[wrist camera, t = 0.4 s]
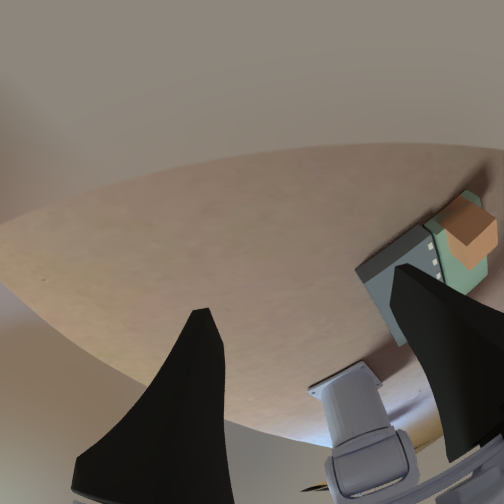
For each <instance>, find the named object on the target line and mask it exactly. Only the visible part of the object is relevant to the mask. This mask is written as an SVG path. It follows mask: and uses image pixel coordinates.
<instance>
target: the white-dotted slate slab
mask: <svg viewBox="0 0 504 504" xmlns="http://www.w3.org/2000/svg"><path fill="white" fill-rule="evenodd" d="M405 263H409V264H411V265H413V266H415V267H417V268H419V269H420V270H422V271H424V272H426V273H427V274H429V275H431V276H433V277H434V278H436V279H438V280H439V281H441V282H443V278H442V274H441V269H440V265H439V261H438V257H437V254H436V250H435V246H434V243H433V239H432V236H431V234H430V233H429V232H428V231H426V230H425V229H424V228H423V227H422V226H420V225H419V224H417V225H416V226H414V227H413V228H412V229H411V230H409V231H408V232H407V233H405V234H404V235H403V236H401V237H400V238H399V239H397V240H396V241H395V242H393V243H392V244H390V245H389V246H388V247H386V248H385V249H384V250H382V251H381V252H379V253H378V254H377V255H375V256H374V257H372V258H371V259H370V260H368V261H367V262H365V263H364V264H363V265H361V266H360V267H358V268H357V269H355V271H356V273H357V275H358V276H359V278H360V279H361V281H362V283H363V284H364V286H365V288H366V289H367V291H368V293H369V294H370V296H371V298H372V300H373V301H374V303H375V305H376V307H377V308H378V310H379V312H380V314H381V315H382V317H383V319H384V321H385V323H386V324H387V326H388V328H389V330H390V332H391V334H392V335H393V337H394V339H395V341H396V343H397V344H398V346H399V347H401V346H402V345H404V344H405V343H407V340H406V338H405V336H404V335H403V333H402V331H401V330H400V328H399V326H398V324H397V322H396V320H395V318H394V315H393V313H392V311H391V308H390V306H389V303H390V297H391V291H392V284H393V277H394V269H395V266H398V265H402V264H405Z"/></svg>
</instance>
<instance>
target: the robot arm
mask: <svg viewBox="0 0 504 504" xmlns="http://www.w3.org/2000/svg"><path fill="white" fill-rule="evenodd" d="M389 306H390V308H391V311H392V313H393V315H394V318H395V320H396V322H397V324H398V326H399V328H400V330H401V331H402V333H403V335H404V336H405V338H406V340H407V342H408V343H409V345H410V347H411V348H412V350H413V352H414V353H415V355H416V357H417V359H418V360H419V362H420V364H421V366H422V368H423V370H424V372H425V374H426V376H427V379H428V381H429V384H430V387H431V389H432V392H433V395H434V398H435V401H436V404H437V408H438V411H439V415H440V419H441V423H442V428H443V433H444V439H445V445H446V455H447V458H448V460H449V463H451V462H453V461H454V460H456V459H458V458H459V457H461V456H462V455H464V454H466V453H467V452H468V451H470V450H472V449H473V448H475V447H476V446H478V445H480V447H481V448H480V449H479V450H477V451H476V452H475V453H473V454H472V455H470V456H469V457H467V458H466V459H464V460H462V461H461V462H459V463H458V464H456V465H455V466H453V467H451V468H449V469H448V470H446V471H444V472H442V473H440V474H439V475H437V476H435V477H433V478H431V479H429V480H427V481H426V482H423V483H421V484H419V485H417V484H418V482H419V477H420V473H419V469H418V466H417V458H416V454H415V450H414V447H413V444H412V442H411V440H410V437H409V436H408V434H407V432H406V431H403V430H401V429H398V430H396V431H395V429H394V426H391V425H390V422H389V418H388V415H387V413H386V410H385V408H384V405H383V403H382V400H381V398H380V395H379V393H378V390H377V389H379V388H380V387H382V386H383V384H382V382H381V381H380V380H379V379H378V378H377V377H376V375H375V374H374V373H373V372H372V371H371V369H370V368H369V367H368V366H367V365H366V363H365V362H364V361H361V362H358V363H357V364H355V365H353V366H351V367H350V368H348V369H346V370H344V371H342V372H340V373H339V374H337V375H335V376H333V377H331V378H329V379H327V380H325V381H323V382H321V383H319V384H317V385H315V386H313V387H311V388H309V389H308V390H307V392H308V393H309V394H310V395H312V396H314V397H315V398H317V399H318V400H320V401H322V405H323V408H324V412H325V416H326V420H327V424H328V428H329V432H330V435H331V439H332V443H333V447H334V448H333V449H332V450H331V451H332V455H331V456H328V457H327V460H326V462H325V464H324V466H325V475H326V480H327V484H328V487H329V490H330V492H331V495H332V496H333V499H334V503H335V504H416V503H418V502H420V501H422V500H424V499H426V498H428V497H430V496H432V495H434V494H436V493H437V492H439V491H441V490H443V489H445V488H446V487H448V486H450V485H451V484H453V483H455V482H456V481H458V480H459V479H461V478H463V477H464V476H466V475H467V474H469V473H471V472H472V471H473V470H474V471H473V474H472V476H471V477H470V478H468V479H466V480H464V481H462V482H460V483H458V484H457V485H455V486H453V487H451V488H450V489H448V490H447V491H445V492H444V493H442V494H441V495H439V496H437V497H436V499H435V501H436V504H504V313H502V312H500V311H497V310H495V309H493V308H490V307H488V306H486V305H484V304H481V303H479V302H477V301H475V300H473V299H471V298H470V297H468V296H466V295H464V294H462V293H460V292H458V291H457V290H455V289H453V288H451V287H450V286H448V285H446V284H444V283H443V282H441V281H439V280H438V279H436V278H434V277H433V276H431V275H429V274H427V273H426V272H424V271H422V270H420V269H419V268H417V267H415V266H413V265H411V264H409V263H405V264H402V265H398V266H395V269H394V277H393V284H392V291H391V297H390V303H389ZM224 393H225V356H224V345H223V341H222V339H221V337H220V334H219V332H218V329H217V327H216V325H215V322H214V320H213V317H212V315H211V312H210V310H209V308H204V309H198V310H193V311H192V313H191V314H190V316H189V318H188V320H187V322H186V324H185V326H184V328H183V330H182V332H181V334H180V335H179V337H178V339H177V341H176V343H175V345H174V346H173V348H172V350H171V352H170V354H169V355H168V357H167V359H166V360H165V362H164V364H163V365H162V367H161V368H160V370H159V372H158V373H157V375H156V376H155V378H154V379H153V381H152V382H151V384H150V385H149V387H148V388H147V389H146V391H145V392H144V394H143V395H142V396H141V397H140V399H139V400H138V401H137V402H136V403H135V405H134V406H133V407H132V408H131V409H130V410H129V412H128V413H127V414H126V415H125V416H124V417H123V418H122V420H121V421H120V422H119V423H118V424H116V426H114V427H113V428H112V429H111V430H110V431H109V432H108V433H107V434H106V435H105V436H104V437H103V438H102V439H100V440H99V441H98V442H97V443H96V444H94V445H93V446H92V447H90V448H89V449H88V450H87V451H85V452H84V453H83V454H81V455H80V456H78V457H77V459H76V463H75V468H74V474H73V480H72V486H71V490H72V491H73V492H74V493H76V494H78V495H80V496H83V497H86V498H88V499H91V500H94V501H97V502H100V503H102V504H234V498H233V493H232V488H231V483H230V477H229V469H228V462H227V454H226V445H225V434H224ZM401 477H403V478H402V479H401V480H400V481H398V482H397V483H395V484H392V485H390V486H387V487H385V488H382V489H380V490H377V491H374V492H371V493H369V494H366V495H363V496H359V497H352V495H356V494H359V493H362V492H365V491H368V490H370V489H373V488H376V487H379V486H381V485H384V484H386V483H389V482H391V481H394V480H396V479H398V478H401ZM416 485H417V486H416ZM73 504H84V503H81V502H79V501H76V500H74V501H73Z"/></svg>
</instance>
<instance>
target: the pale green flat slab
mask: <svg viewBox="0 0 504 504" xmlns="http://www.w3.org/2000/svg"><path fill="white" fill-rule="evenodd" d="M424 227H425V230H426V231H428V232H429V233H430V234H431V236H432V239H433V243H434V246H435V250H436V254H437V257H438V261H439V265H440V269H441V274H442V278H443V283H444V284H446V285H448V286H450V287H451V288H453V289H455V290H457V291H458V292H460V293H462V294H464V295H466V294H467V293H468V292H469V291H471V290H472V289H473V288H474V287H475V286H476V285H477V284H478V283H479V282H481V281H482V280H483V279H484V278H485V277H486V276H487V275H488V269H487V255H488V254H489V253H490V252H491V251H492V250H493V249H494V248H495V247H496V246H497V245H498V236H497V222H496V218H495V217H493V216H492V215H491V214H489V213H488V212H486V211H485V210H483V209H482V207H481V201H480V197H478V196H476V195H475V194H473V193H471V192H469V191H468V190H465V191H464V192H463V193H461V194H460V195H459V196H458V197H457V198H456V199H454V200H453V201H452V202H451V203H450V204H448V205H447V206H446V207H445V208H444V209H442V210H441V211H440V212H439V213H438V214H436V215H435V216H434V217H433V218H431V219H430V220H429V221H428V222H426V223H425V224H424Z"/></svg>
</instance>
